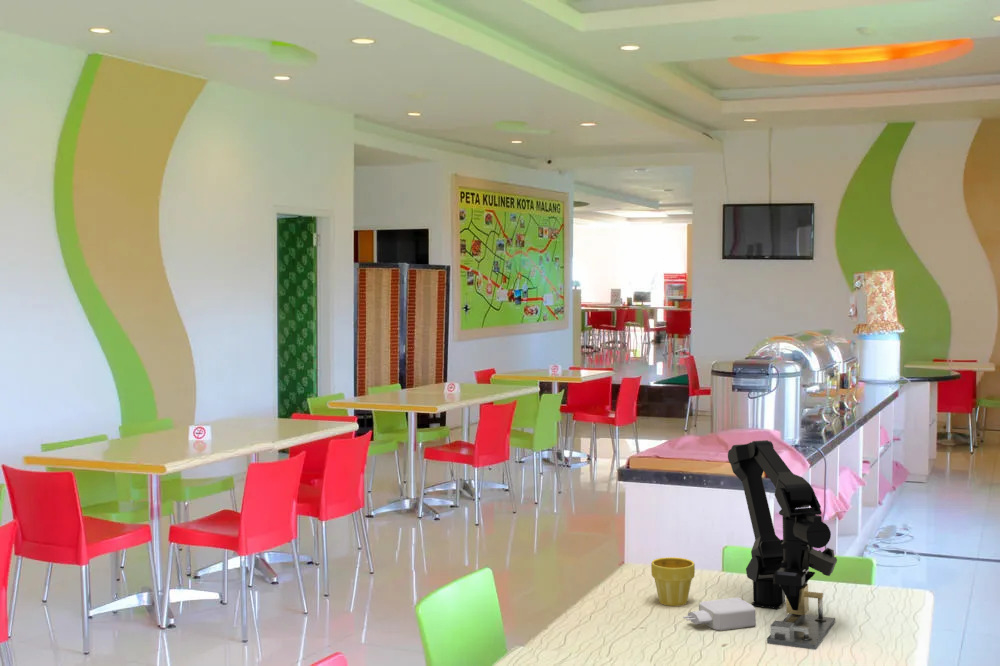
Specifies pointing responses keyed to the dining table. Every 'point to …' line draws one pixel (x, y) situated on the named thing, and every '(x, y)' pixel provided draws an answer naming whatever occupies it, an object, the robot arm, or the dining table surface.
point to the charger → (724, 614)
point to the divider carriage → (806, 603)
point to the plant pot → (673, 579)
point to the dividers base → (800, 631)
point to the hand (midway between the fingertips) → (797, 607)
